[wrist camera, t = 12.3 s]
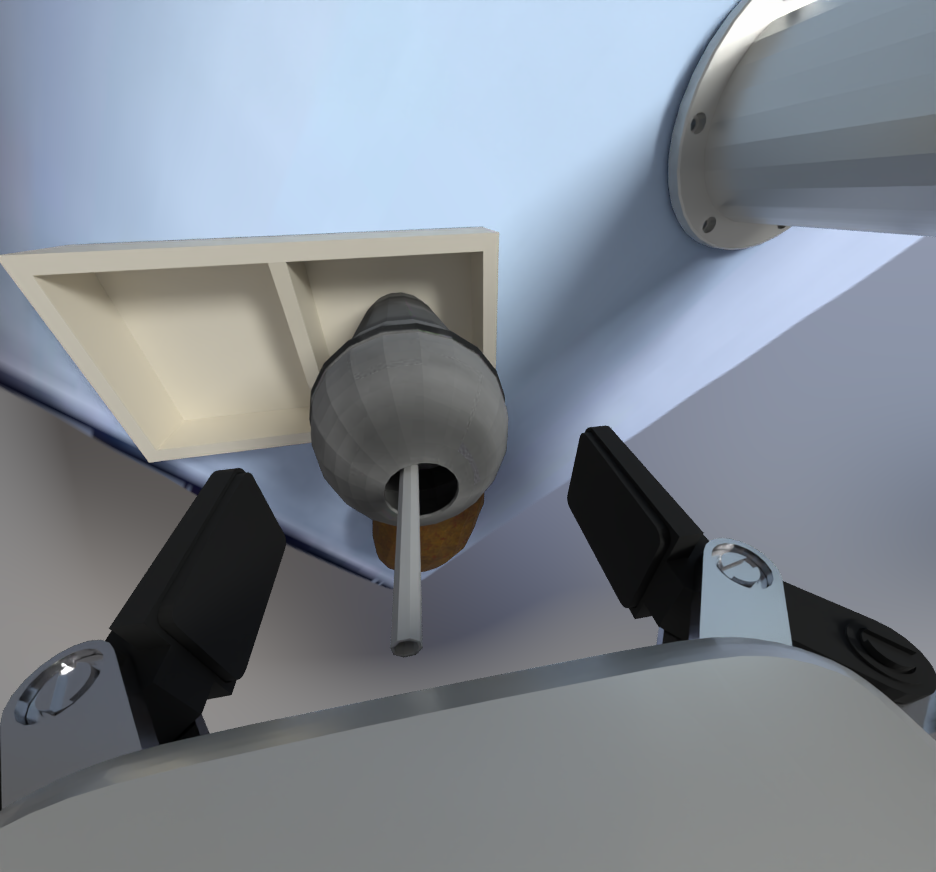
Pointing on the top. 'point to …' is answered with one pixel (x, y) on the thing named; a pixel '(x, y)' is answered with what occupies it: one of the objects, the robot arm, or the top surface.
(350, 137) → the top surface
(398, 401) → the beverage cup
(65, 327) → the cup carrier
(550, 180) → the top surface
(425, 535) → the potato
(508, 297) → the top surface
